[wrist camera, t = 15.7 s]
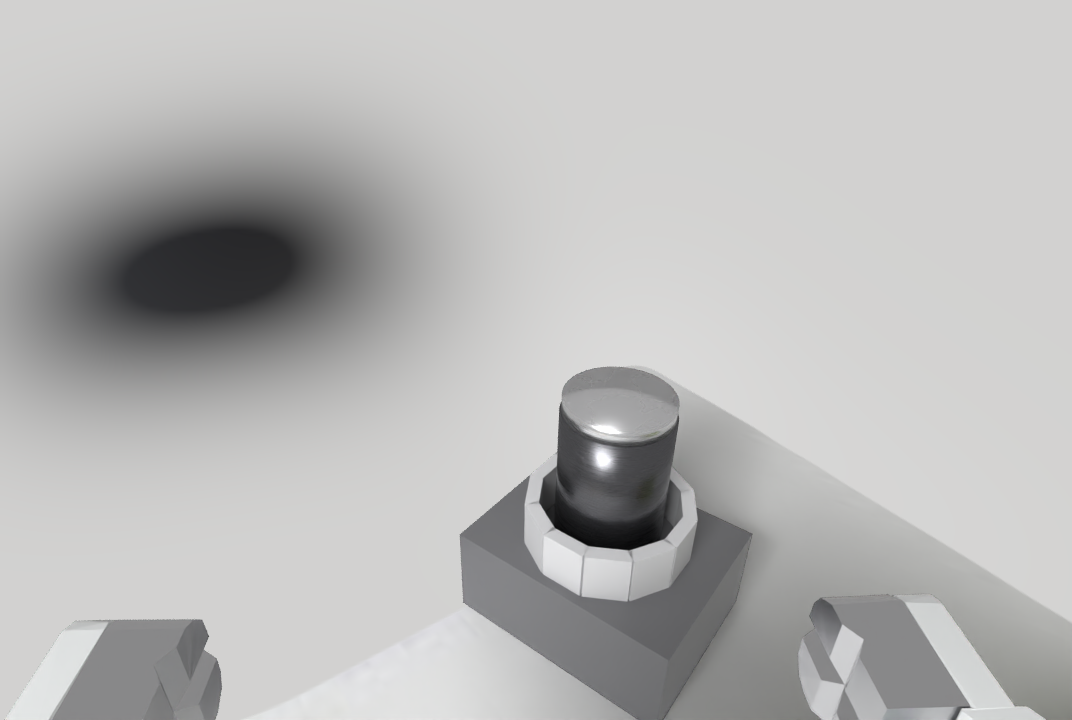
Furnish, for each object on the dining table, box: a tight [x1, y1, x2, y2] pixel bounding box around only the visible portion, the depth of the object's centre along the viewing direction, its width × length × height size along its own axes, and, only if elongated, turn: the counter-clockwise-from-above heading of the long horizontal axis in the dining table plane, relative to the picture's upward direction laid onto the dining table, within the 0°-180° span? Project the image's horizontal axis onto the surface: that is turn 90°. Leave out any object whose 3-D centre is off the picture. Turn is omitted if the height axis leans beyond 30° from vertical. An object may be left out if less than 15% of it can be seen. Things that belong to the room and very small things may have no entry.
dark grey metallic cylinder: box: [554, 367, 679, 551], centre depth 39 cm, size 6×6×10 cm
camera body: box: [460, 453, 752, 720], centre depth 42 cm, size 14×11×9 cm
